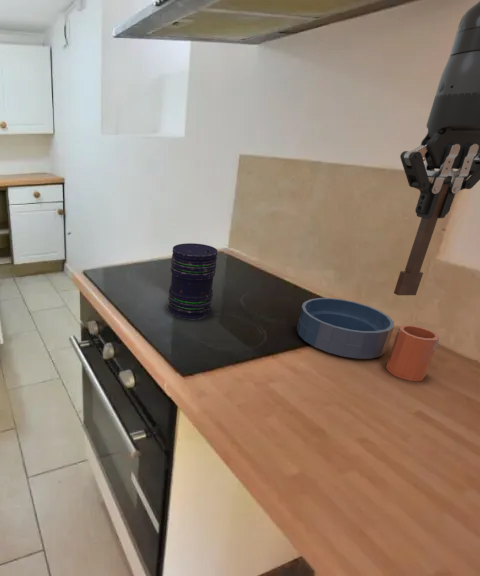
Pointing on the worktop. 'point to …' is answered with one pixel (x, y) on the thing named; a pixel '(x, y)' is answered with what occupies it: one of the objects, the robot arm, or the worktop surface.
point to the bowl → (345, 328)
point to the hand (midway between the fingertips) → (430, 217)
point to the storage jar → (192, 280)
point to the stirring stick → (419, 251)
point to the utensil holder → (412, 352)
